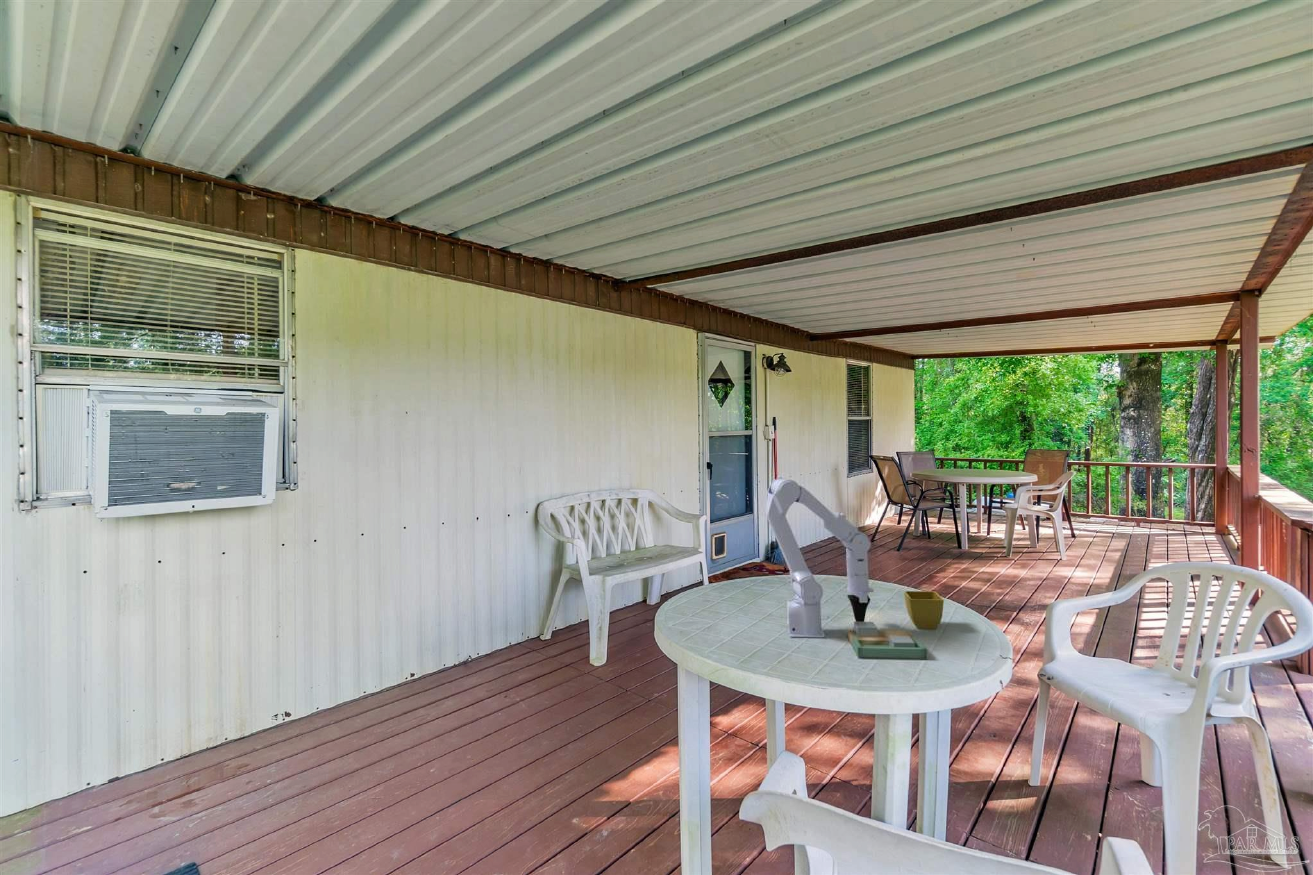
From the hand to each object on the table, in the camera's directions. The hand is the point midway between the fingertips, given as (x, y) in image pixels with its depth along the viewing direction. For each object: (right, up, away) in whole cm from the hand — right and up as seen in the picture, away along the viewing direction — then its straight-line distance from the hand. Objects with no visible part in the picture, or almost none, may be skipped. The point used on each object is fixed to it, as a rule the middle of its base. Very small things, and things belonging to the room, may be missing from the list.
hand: (859, 621), depth 163 cm
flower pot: (+19, -2, +1) cm, 19 cm away
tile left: (-1, -1, -8) cm, 8 cm away
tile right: (+5, -2, -17) cm, 17 cm away
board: (+2, -2, -9) cm, 10 cm away
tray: (+1, -2, -18) cm, 18 cm away
